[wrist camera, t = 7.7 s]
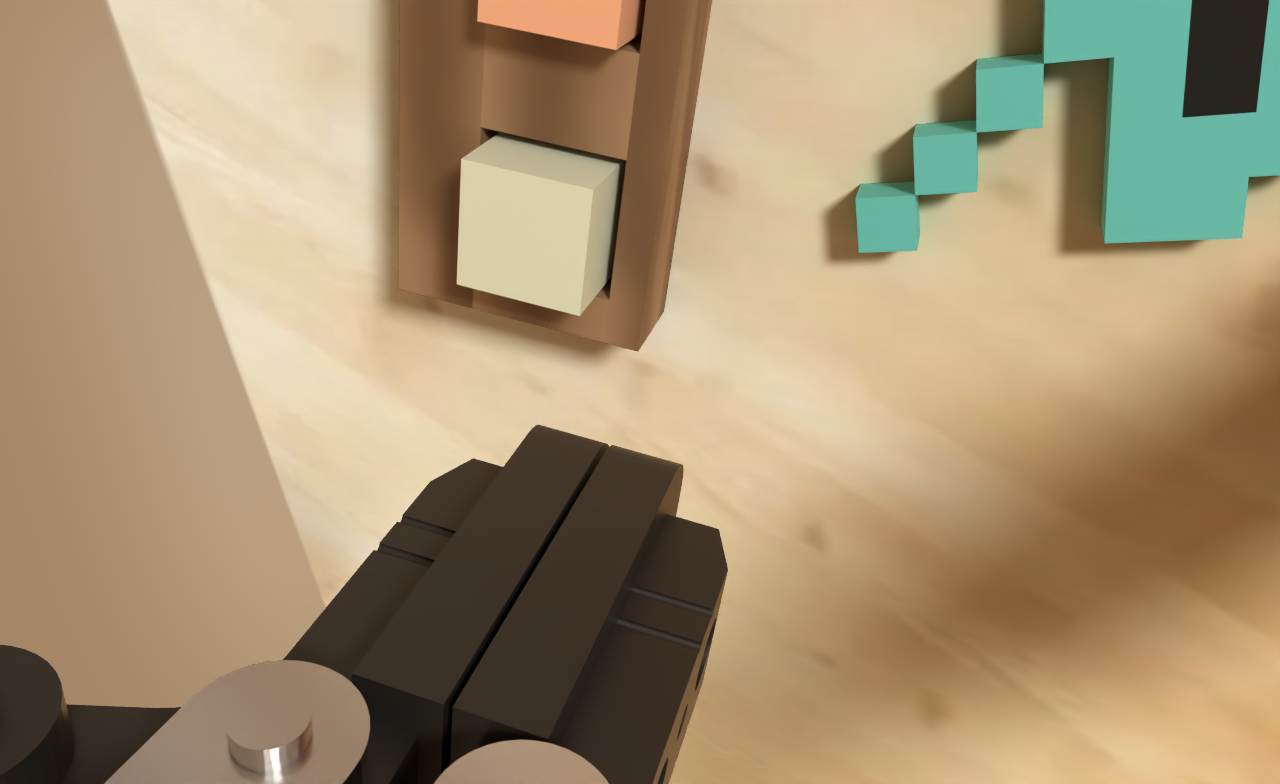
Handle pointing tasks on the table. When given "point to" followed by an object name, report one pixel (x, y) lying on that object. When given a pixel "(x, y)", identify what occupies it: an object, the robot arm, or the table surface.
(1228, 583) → the table surface
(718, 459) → the table surface
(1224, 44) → the alien figure
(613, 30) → the terracotta button
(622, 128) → the button panel
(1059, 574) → the table surface
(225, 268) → the table surface
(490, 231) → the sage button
